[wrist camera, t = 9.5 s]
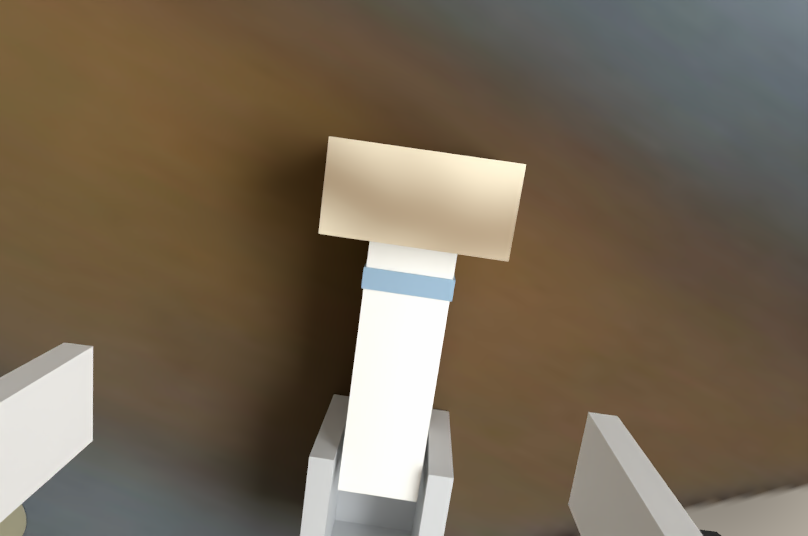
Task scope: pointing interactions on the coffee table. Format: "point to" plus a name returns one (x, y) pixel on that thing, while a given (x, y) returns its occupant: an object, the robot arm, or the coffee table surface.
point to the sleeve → (367, 514)
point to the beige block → (420, 198)
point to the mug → (14, 523)
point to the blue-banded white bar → (395, 369)
